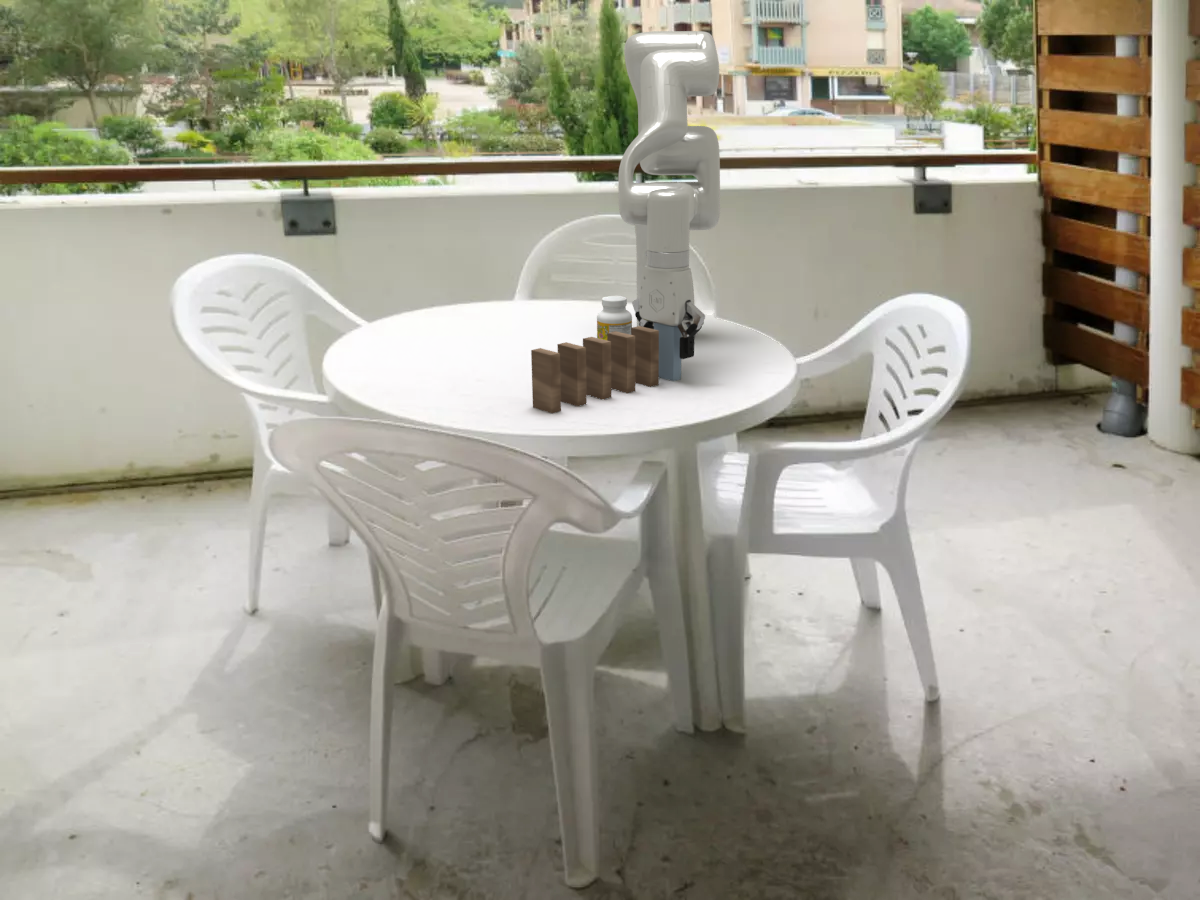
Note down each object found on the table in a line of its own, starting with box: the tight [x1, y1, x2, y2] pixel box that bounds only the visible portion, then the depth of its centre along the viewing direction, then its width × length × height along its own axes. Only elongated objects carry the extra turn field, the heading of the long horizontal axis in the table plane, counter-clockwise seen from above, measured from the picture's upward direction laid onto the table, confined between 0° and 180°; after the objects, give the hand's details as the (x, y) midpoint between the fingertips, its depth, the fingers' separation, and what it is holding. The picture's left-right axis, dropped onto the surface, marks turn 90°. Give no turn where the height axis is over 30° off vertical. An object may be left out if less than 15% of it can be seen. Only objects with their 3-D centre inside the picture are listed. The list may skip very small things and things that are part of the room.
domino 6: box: [654, 323, 682, 382], centre depth 236 cm, size 2×5×10 cm, turn 43°
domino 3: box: [582, 336, 612, 400], centre depth 225 cm, size 2×5×10 cm, turn 42°
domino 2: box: [557, 342, 588, 407], centre depth 221 cm, size 2×5×10 cm, turn 42°
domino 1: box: [530, 347, 562, 414], centre depth 217 cm, size 2×5×10 cm, turn 42°
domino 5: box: [631, 325, 660, 388], centre depth 232 cm, size 2×5×10 cm, turn 42°
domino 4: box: [607, 331, 636, 394], centre depth 229 cm, size 2×5×10 cm, turn 42°
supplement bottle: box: [596, 295, 633, 340], centre depth 245 cm, size 7×7×13 cm
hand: (667, 352), depth 236 cm, fingers open, 9 cm apart
